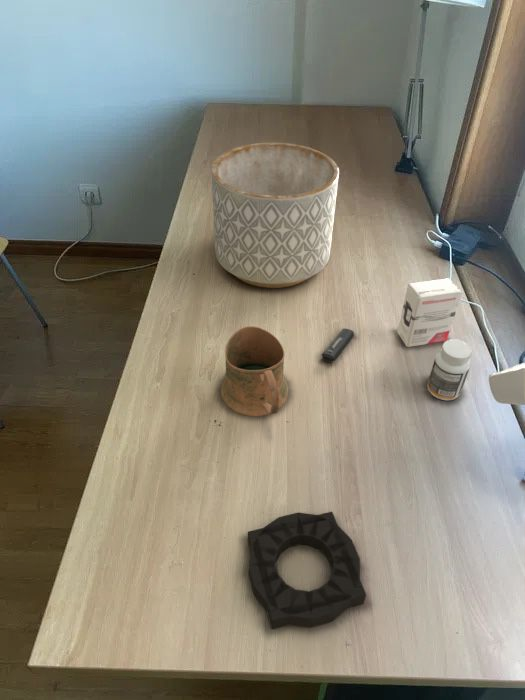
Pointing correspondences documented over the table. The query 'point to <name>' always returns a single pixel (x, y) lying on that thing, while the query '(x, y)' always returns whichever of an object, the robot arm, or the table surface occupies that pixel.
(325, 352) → the usb stick
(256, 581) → the base pad
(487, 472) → the table surface
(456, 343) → the pill bottle
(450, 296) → the ink box
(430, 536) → the table surface
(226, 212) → the planter
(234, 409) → the mug
